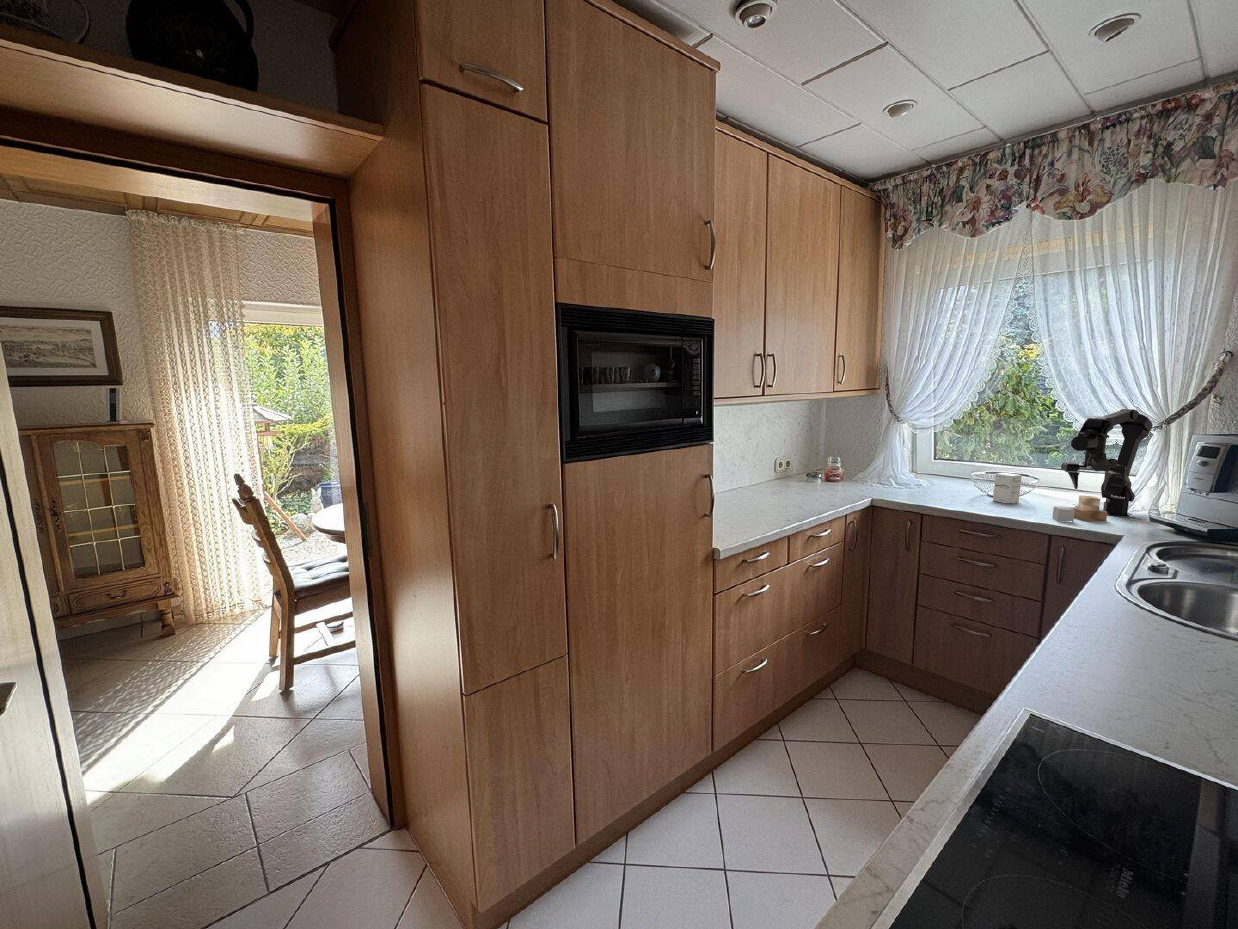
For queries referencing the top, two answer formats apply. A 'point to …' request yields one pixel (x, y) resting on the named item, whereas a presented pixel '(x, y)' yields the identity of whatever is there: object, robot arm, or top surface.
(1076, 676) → the top surface
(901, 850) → the top surface
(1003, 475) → the supplement box
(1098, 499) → the birch cube
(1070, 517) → the grey plastic cube
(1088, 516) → the walnut block
